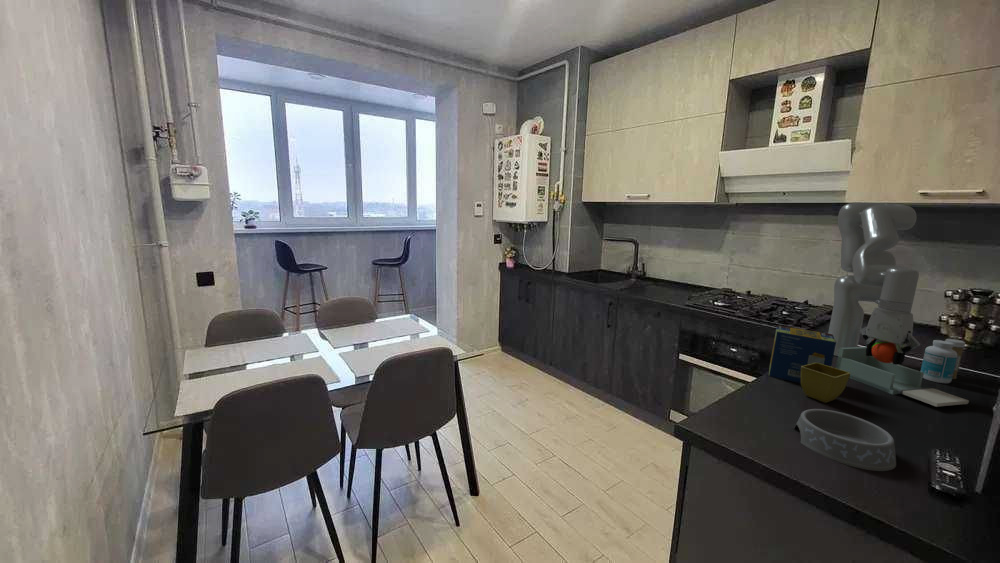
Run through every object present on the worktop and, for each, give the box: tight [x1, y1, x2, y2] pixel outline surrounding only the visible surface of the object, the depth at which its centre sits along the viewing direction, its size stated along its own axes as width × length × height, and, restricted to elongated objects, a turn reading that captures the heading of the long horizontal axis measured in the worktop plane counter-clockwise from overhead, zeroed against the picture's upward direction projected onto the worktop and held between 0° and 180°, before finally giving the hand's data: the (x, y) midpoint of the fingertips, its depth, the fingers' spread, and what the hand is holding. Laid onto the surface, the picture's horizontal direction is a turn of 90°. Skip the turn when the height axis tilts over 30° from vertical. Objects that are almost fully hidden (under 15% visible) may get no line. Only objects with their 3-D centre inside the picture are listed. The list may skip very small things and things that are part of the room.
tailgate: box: [898, 387, 970, 408], centre depth 118 cm, size 1×13×9 cm
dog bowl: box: [793, 408, 897, 472], centre depth 91 cm, size 17×18×5 cm
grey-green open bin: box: [835, 346, 924, 395], centre depth 131 cm, size 17×13×9 cm
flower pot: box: [800, 363, 850, 404], centre depth 116 cm, size 9×9×9 cm
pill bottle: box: [920, 339, 958, 384], centre depth 136 cm, size 8×7×14 cm
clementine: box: [872, 340, 897, 363], centre depth 130 cm, size 8×7×7 cm
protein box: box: [768, 324, 836, 384], centre depth 131 cm, size 10×15×16 cm
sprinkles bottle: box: [944, 338, 966, 380], centre depth 139 cm, size 5×5×14 cm
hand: (883, 359), depth 130 cm, fingers closed on clementine, 7 cm apart
